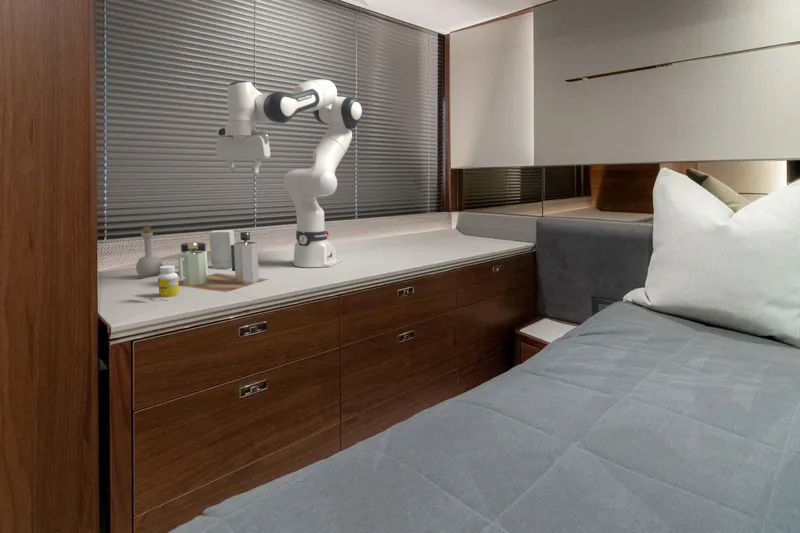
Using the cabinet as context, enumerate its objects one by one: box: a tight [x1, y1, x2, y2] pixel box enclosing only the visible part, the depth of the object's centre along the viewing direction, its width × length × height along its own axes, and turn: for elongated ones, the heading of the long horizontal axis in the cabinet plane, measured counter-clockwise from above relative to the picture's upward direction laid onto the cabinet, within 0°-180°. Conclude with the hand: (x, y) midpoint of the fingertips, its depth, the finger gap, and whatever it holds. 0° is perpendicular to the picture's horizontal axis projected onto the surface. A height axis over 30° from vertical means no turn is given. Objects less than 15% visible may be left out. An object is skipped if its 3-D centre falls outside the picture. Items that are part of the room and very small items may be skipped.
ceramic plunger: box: [187, 241, 199, 254], centre depth 162 cm, size 5×5×10 cm
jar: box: [180, 241, 209, 275], centre depth 177 cm, size 9×8×12 cm
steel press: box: [231, 240, 260, 284], centre depth 166 cm, size 7×10×13 cm
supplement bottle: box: [157, 265, 180, 302], centre depth 146 cm, size 5×5×10 cm
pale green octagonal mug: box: [177, 251, 207, 285], centre depth 162 cm, size 10×7×10 cm
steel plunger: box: [239, 231, 251, 244], centre depth 165 cm, size 5×5×11 cm
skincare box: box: [208, 229, 236, 270], centre depth 194 cm, size 8×6×15 cm
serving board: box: [178, 272, 270, 293], centre depth 165 cm, size 21×23×1 cm
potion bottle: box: [135, 226, 164, 280], centre depth 175 cm, size 9×9×18 cm
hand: (244, 172), depth 169 cm, fingers open, 8 cm apart
